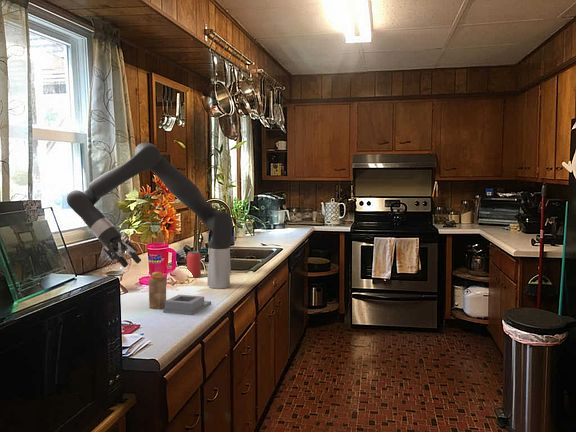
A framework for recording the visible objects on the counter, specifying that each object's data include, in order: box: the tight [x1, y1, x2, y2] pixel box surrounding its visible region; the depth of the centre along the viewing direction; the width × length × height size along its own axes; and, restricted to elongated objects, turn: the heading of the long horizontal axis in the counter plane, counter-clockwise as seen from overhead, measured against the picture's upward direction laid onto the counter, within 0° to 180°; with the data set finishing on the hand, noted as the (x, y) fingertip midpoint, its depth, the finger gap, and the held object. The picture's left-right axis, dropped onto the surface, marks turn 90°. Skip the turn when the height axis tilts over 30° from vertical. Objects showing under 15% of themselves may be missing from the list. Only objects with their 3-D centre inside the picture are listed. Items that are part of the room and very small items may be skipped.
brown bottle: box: [148, 271, 167, 310], centre depth 191 cm, size 4×4×13 cm
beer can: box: [186, 250, 202, 279], centre depth 246 cm, size 7×7×12 cm
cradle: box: [162, 294, 212, 316], centre depth 190 cm, size 12×16×4 cm
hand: (133, 264), depth 193 cm, fingers open, 8 cm apart
